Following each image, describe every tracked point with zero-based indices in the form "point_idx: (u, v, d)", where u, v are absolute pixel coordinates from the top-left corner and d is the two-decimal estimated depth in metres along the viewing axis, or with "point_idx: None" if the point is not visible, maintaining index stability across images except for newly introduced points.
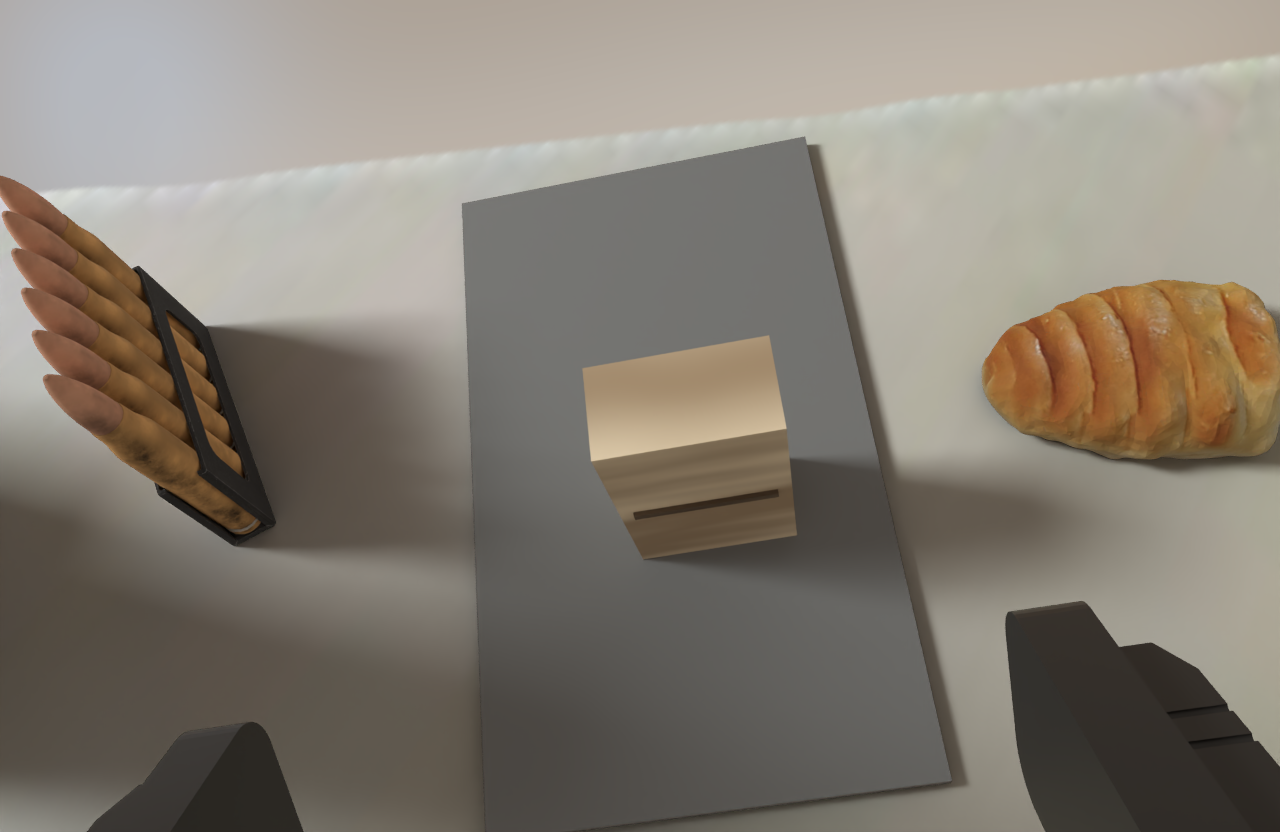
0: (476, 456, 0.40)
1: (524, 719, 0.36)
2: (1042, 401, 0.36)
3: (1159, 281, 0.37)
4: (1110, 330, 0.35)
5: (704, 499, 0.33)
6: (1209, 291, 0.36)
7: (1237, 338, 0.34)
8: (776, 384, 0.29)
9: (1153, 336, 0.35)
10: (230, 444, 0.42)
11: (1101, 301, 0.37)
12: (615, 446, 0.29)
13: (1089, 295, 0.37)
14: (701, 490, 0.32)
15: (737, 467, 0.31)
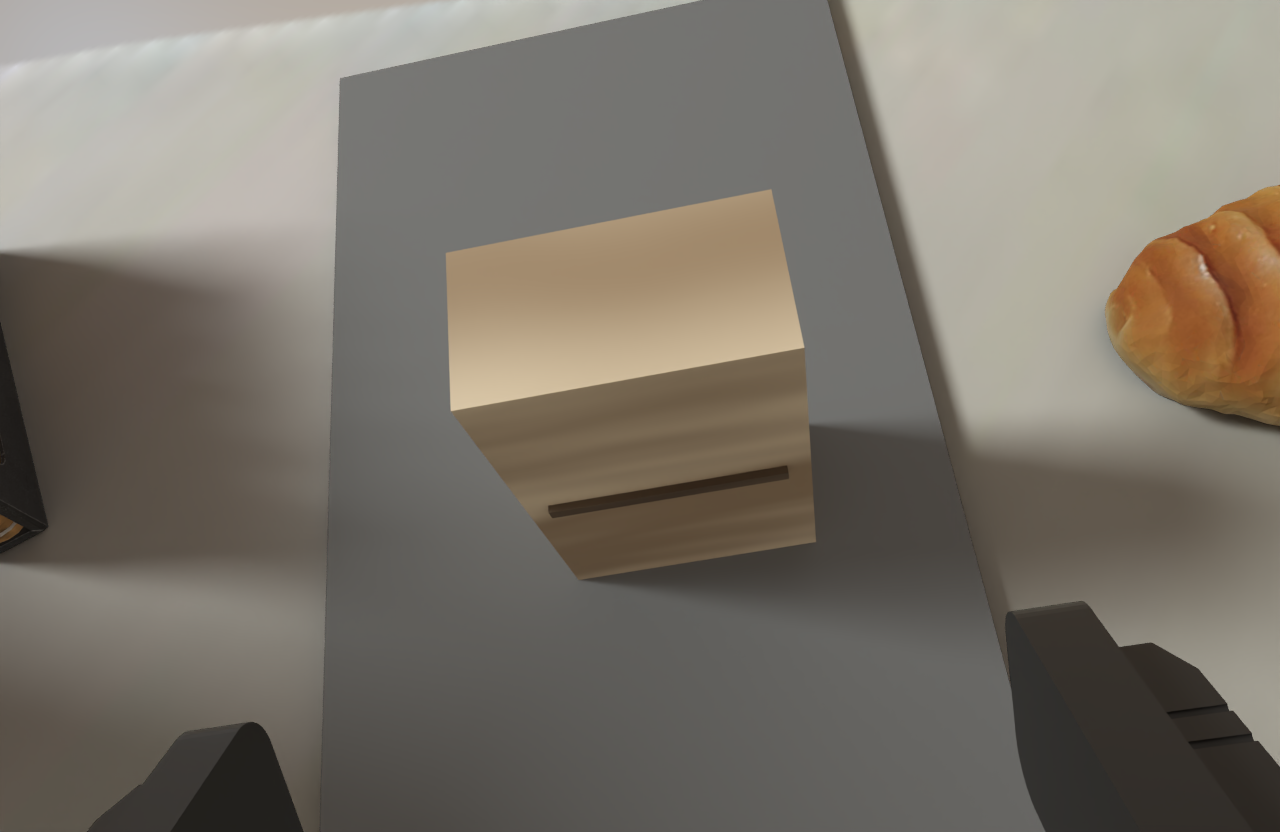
0: (337, 426, 0.27)
1: None
2: (1219, 351, 0.22)
3: None
4: None
5: (664, 484, 0.20)
6: None
7: None
8: (785, 271, 0.16)
9: None
10: None
11: None
12: (494, 384, 0.16)
13: (1275, 188, 0.24)
14: (658, 467, 0.19)
15: (717, 424, 0.18)
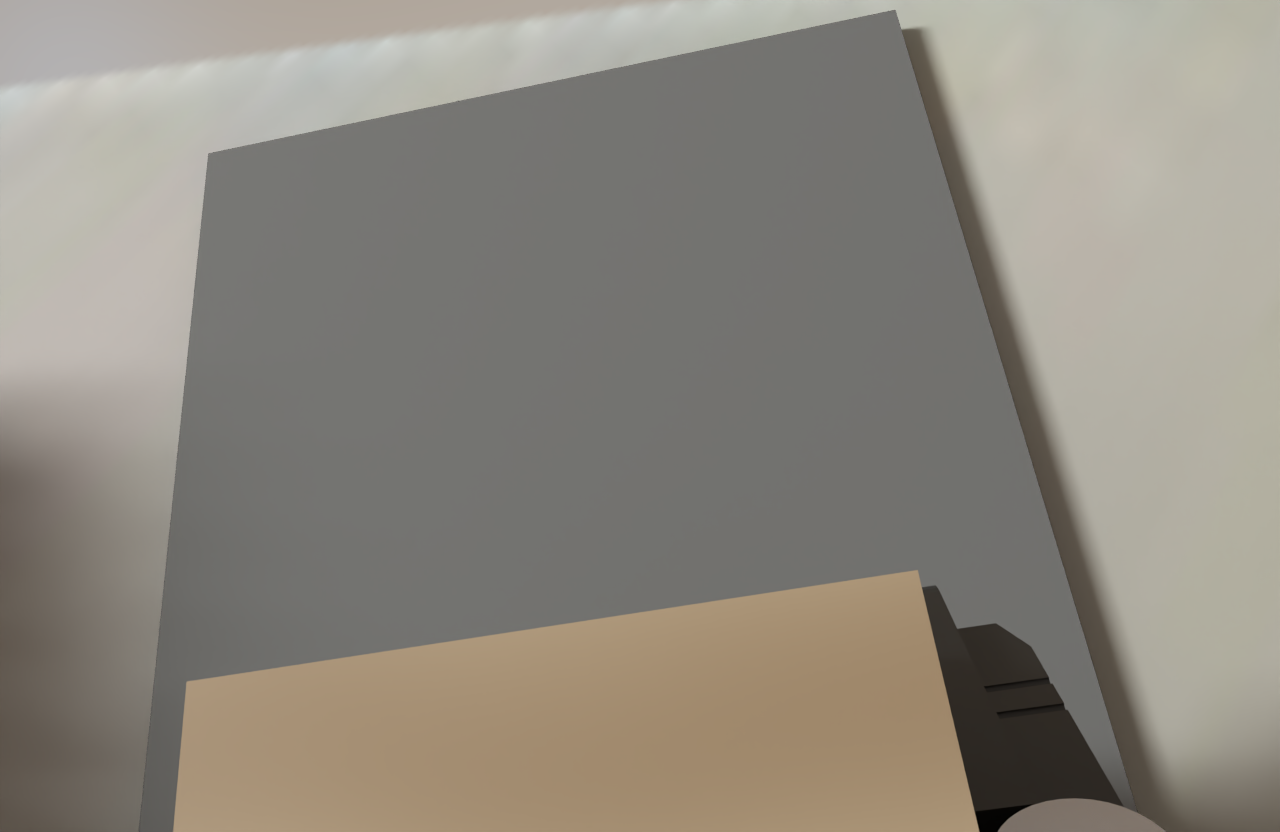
0: (161, 716, 0.18)
1: None
2: None
3: None
4: None
5: None
6: None
7: None
8: (966, 812, 0.07)
9: None
10: None
11: None
12: None
13: None
14: None
15: None
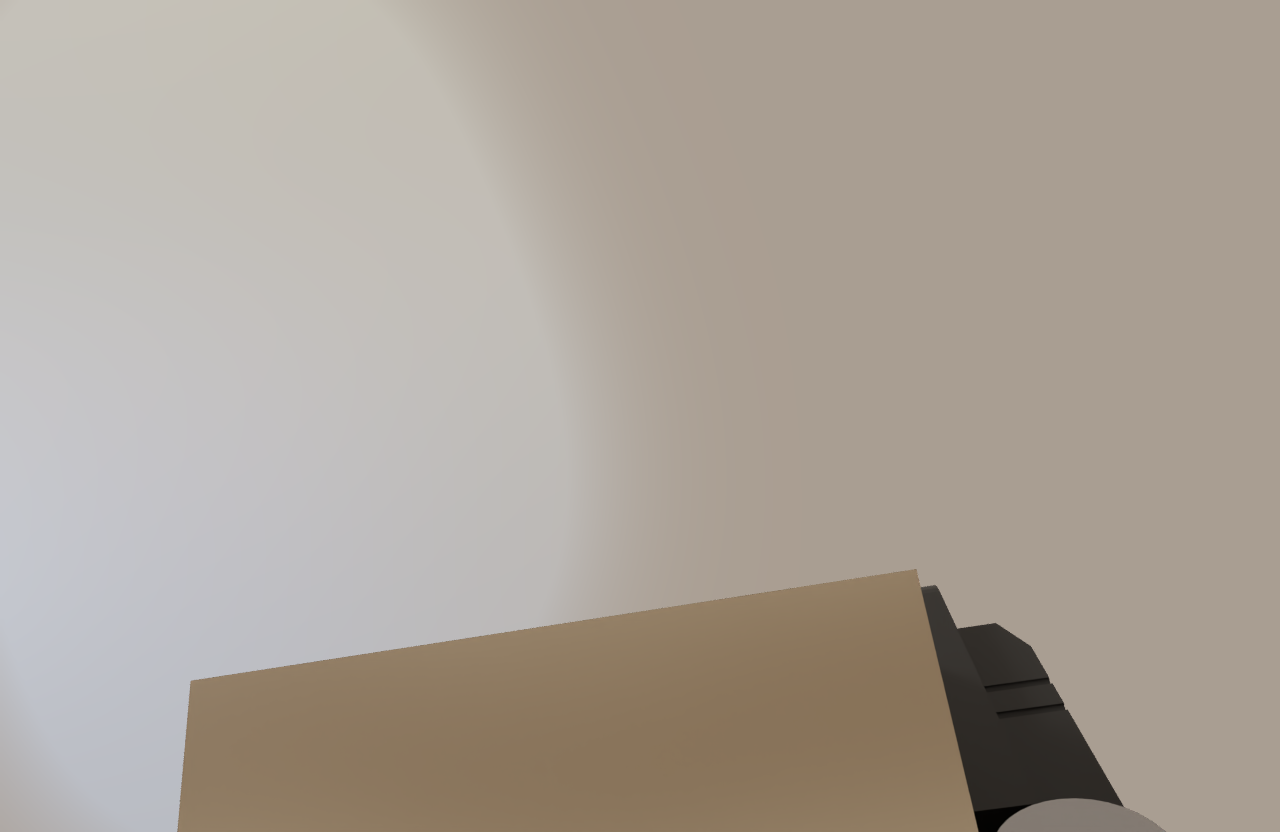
0: None
1: None
2: None
3: None
4: None
5: None
6: None
7: None
8: (965, 809, 0.07)
9: None
10: None
11: None
12: None
13: None
14: None
15: None
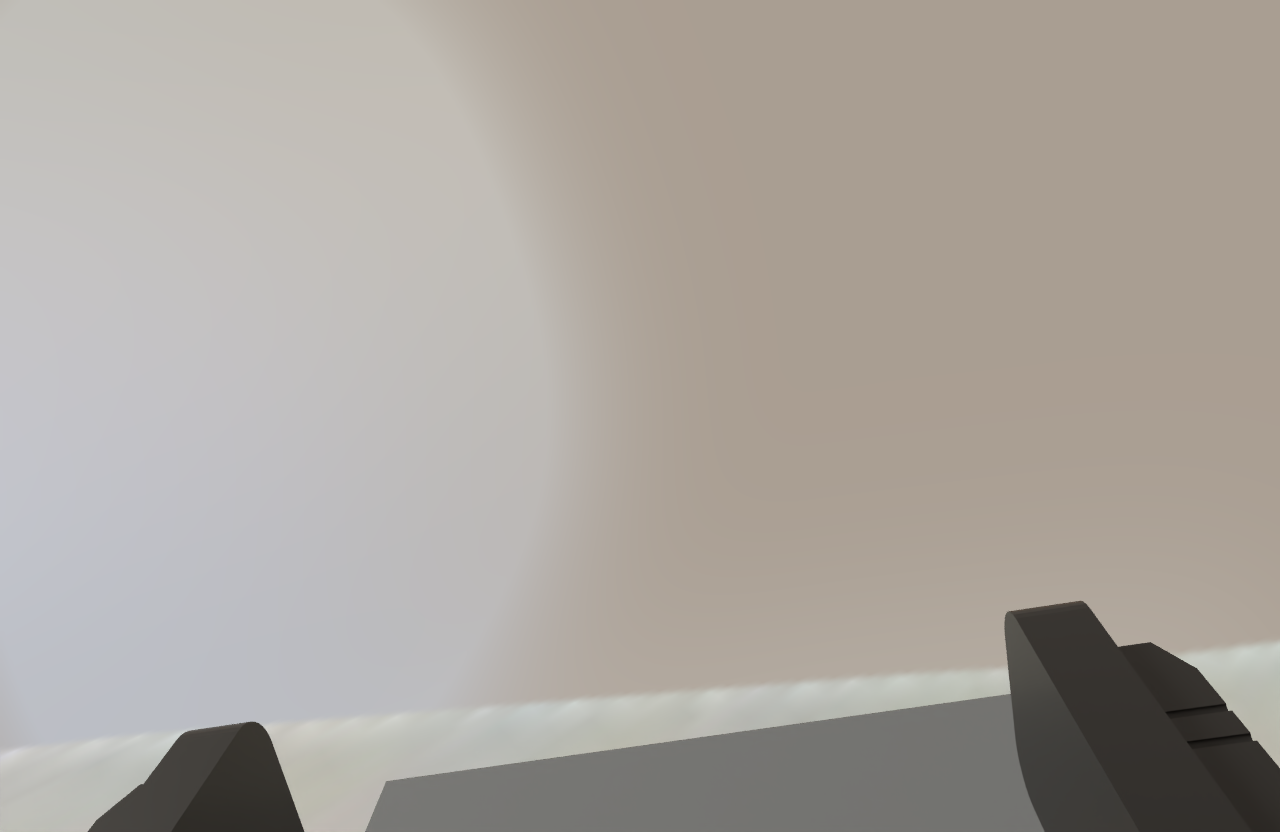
0: None
1: None
2: None
3: None
4: None
5: None
6: None
7: None
8: None
9: None
10: None
11: None
12: None
13: None
14: None
15: None
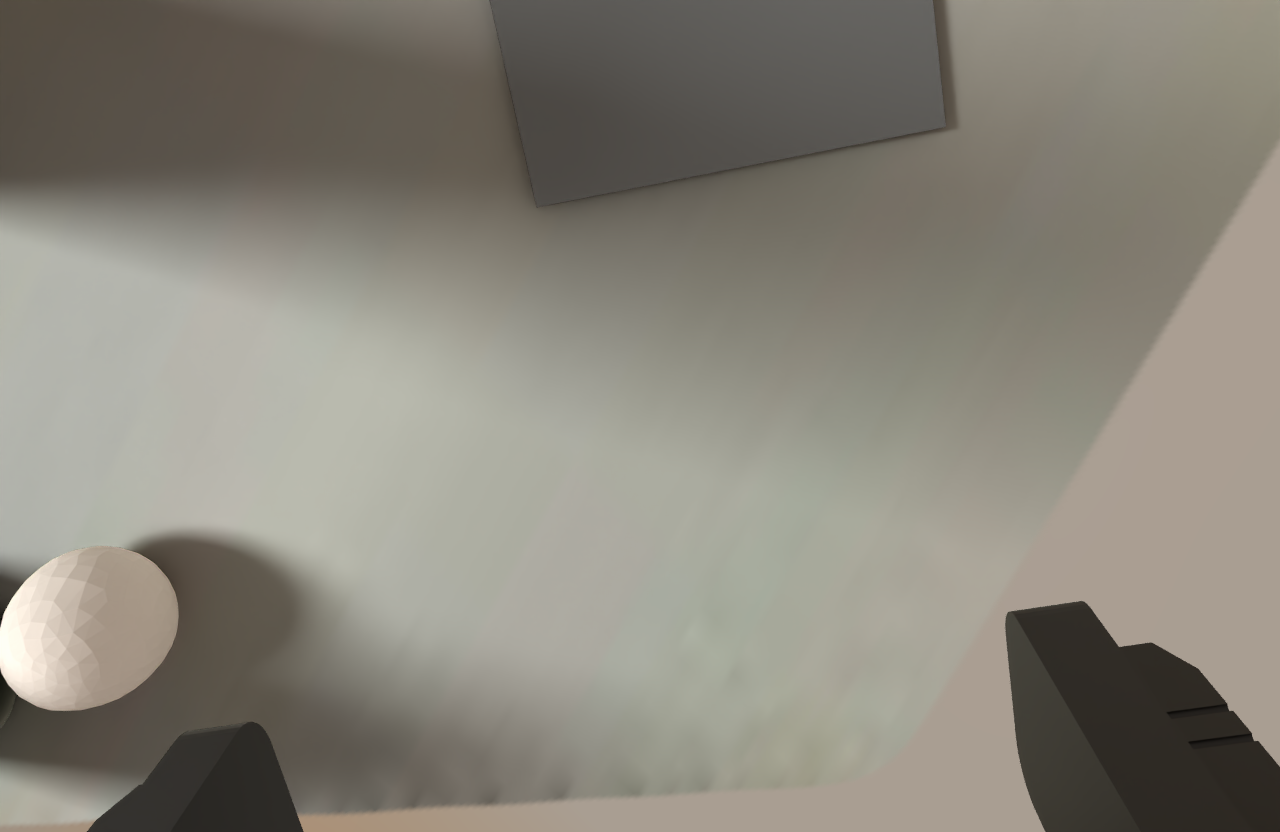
0: None
1: (554, 96, 0.38)
2: None
3: None
4: None
5: None
6: None
7: None
8: None
9: None
10: None
11: None
12: None
13: None
14: None
15: None
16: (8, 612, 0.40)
